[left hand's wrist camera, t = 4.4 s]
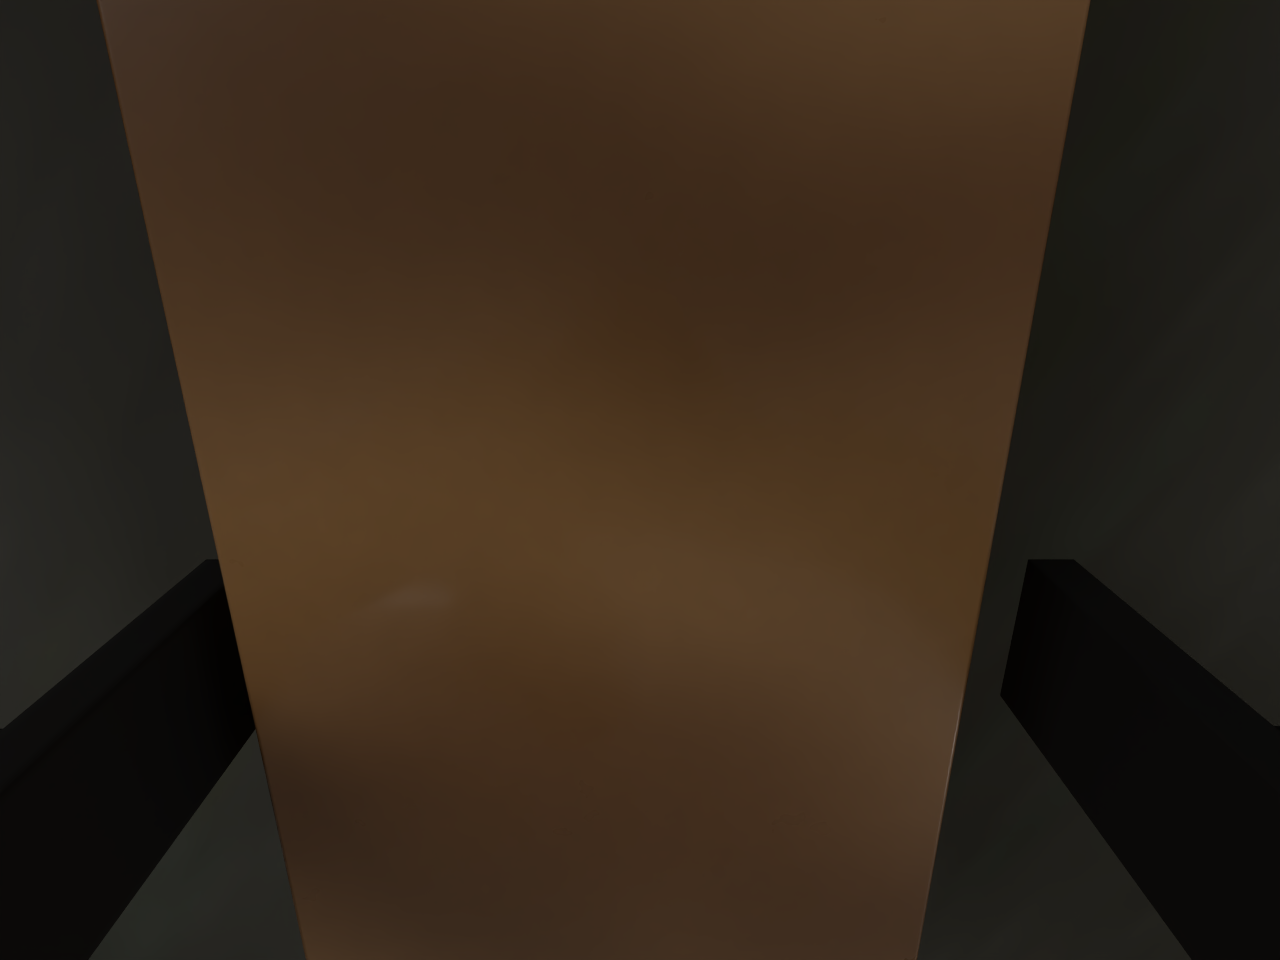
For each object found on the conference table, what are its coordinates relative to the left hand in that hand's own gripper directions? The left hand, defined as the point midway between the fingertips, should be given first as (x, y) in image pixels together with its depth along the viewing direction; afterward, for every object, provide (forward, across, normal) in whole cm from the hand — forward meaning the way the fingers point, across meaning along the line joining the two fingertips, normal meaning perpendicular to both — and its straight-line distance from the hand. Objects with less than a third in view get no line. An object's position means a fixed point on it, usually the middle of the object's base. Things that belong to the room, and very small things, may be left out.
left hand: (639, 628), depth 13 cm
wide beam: (+4, 0, -34) cm, 34 cm away
